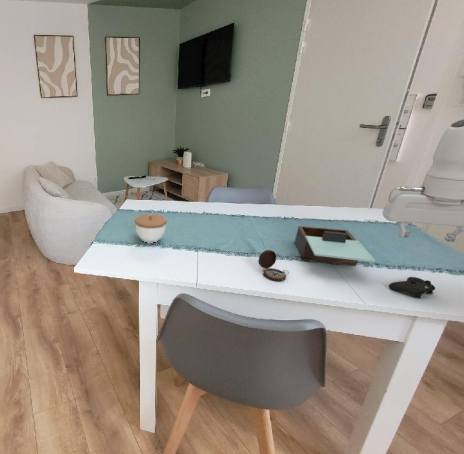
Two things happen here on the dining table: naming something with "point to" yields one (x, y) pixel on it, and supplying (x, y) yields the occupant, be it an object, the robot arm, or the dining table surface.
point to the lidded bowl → (150, 227)
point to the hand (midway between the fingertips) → (425, 238)
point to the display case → (307, 252)
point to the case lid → (338, 247)
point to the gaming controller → (413, 286)
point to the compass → (266, 262)
